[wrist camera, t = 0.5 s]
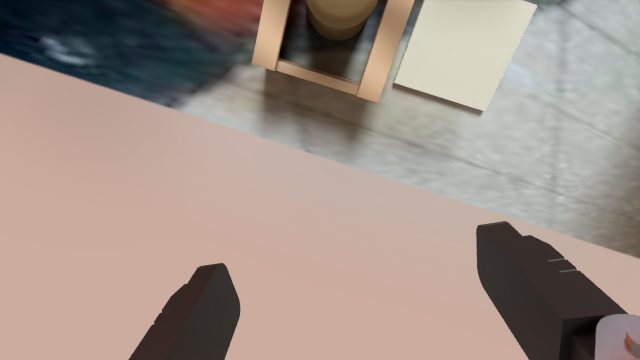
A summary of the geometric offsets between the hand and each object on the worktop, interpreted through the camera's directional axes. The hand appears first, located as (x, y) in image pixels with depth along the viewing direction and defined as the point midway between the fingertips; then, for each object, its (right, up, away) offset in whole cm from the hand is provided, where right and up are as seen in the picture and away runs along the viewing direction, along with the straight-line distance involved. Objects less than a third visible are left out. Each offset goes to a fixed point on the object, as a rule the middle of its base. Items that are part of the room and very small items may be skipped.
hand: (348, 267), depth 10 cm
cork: (+1, +19, +20) cm, 28 cm away
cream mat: (+13, +16, +20) cm, 29 cm away
